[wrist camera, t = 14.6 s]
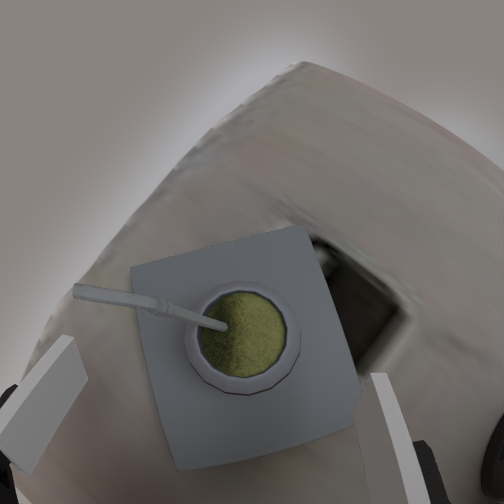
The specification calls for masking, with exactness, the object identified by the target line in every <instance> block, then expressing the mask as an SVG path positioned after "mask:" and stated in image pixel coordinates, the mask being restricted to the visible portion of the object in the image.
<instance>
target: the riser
mask: <svg viewBox="0 0 504 504" xmlns="http://www.w3.org/2000/svg"><path fill="white" fill-rule="evenodd" d="M130 272H131V280H132V287H133V293H135V294H140V295H145V296H149V297H152V296H154V295H156V296H159V297H162V298H165V299H168V300H171V301H173V302H174V303H175V305H176V306H179V307H181V308H184V309H186V310H189V311H192V309H193V308H194V306H195V304H196V303H197V301H198V299H200V298H201V297H202V296H204V295H205V294H206V293H208V292H209V291H210V290H212V289H213V288H214V287H215V286H218V285H222V284H225V283H229V282H232V281H236V280H241V281H251V282H260V283H262V284H264V285H266V286H268V287H270V288H272V289H274V290H276V291H278V292H279V293H280V294H281V295H282V296H283V297H284V298H285V299H286V301H287V302H288V303H289V304H290V305H291V306H292V307H293V309H294V311H295V314H296V316H297V319H298V322H299V325H300V328H301V345H300V355H299V357H298V359H297V361H296V363H295V365H294V366H293V368H292V370H291V372H290V374H289V375H288V376H287V377H286V378H284V379H283V380H282V381H281V382H280V383H278V384H277V385H276V386H275V387H273V388H272V389H271V390H268V391H264V392H261V393H258V394H254V395H251V396H243V395H233V394H226V393H224V392H222V391H220V390H218V389H216V388H214V387H212V386H211V385H209V384H207V383H205V382H204V381H203V380H202V378H201V377H200V376H199V375H198V373H197V372H196V371H195V370H194V368H193V367H192V366H191V364H190V362H189V358H188V354H187V350H186V346H185V343H184V336H185V329H186V321H183V320H179V319H176V318H173V317H171V318H169V319H166V318H162V317H158V316H155V315H152V314H150V313H149V311H147V310H142V309H136V313H137V318H138V324H139V330H140V335H141V340H142V345H143V350H144V355H145V359H146V364H147V368H148V372H149V377H150V381H151V385H152V389H153V393H154V397H155V401H156V404H157V408H158V412H159V415H160V419H161V422H162V425H163V429H164V432H165V435H166V438H167V442H168V445H169V448H170V451H171V454H172V457H173V460H174V463H175V465H176V468H177V471H178V472H179V471H187V470H194V469H201V468H207V467H213V466H219V465H224V464H229V463H234V462H238V461H243V460H247V459H251V458H256V457H260V456H263V455H267V454H271V453H275V452H278V451H282V450H285V449H288V448H292V447H295V446H298V445H301V444H304V443H307V442H310V441H313V440H316V439H319V438H321V437H324V436H327V435H330V434H332V433H335V432H337V431H340V430H342V429H345V428H347V427H350V426H352V425H355V422H354V418H353V411H354V409H355V407H356V405H357V403H358V400H359V398H360V396H361V394H362V389H361V386H360V382H359V379H358V376H357V373H356V369H355V366H354V363H353V360H352V357H351V354H350V350H349V347H348V344H347V341H346V338H345V335H344V332H343V329H342V326H341V323H340V320H339V317H338V314H337V312H336V309H335V306H334V303H333V300H332V297H331V294H330V292H329V289H328V286H327V283H326V281H325V278H324V275H323V272H322V270H321V267H320V264H319V262H318V259H317V256H316V254H315V251H314V249H313V246H312V243H311V241H310V238H309V236H308V233H307V230H306V228H305V225H304V224H300V225H296V226H292V227H287V228H283V229H279V230H275V231H271V232H267V233H263V234H259V235H255V236H251V237H247V238H243V239H239V240H235V241H231V242H227V243H223V244H219V245H215V246H211V247H207V248H203V249H199V250H195V251H191V252H187V253H184V254H180V255H176V256H172V257H168V258H164V259H160V260H157V261H153V262H149V263H145V264H141V265H138V266H134V267H130Z"/></svg>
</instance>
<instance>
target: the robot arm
mask: <svg viewBox="0 0 504 504" xmlns="http://www.w3.org/2000/svg"><path fill="white" fill-rule="evenodd" d="M88 380H89V379H88V377H87V374H86V371H85V368H84V366H83V363H82V360H81V357H80V354H79V351H78V348H77V344H76V341H75V338H74V337H70V336H67V335H63V334H62V335H61V336H60V337H59V339H58V340H57V341H56V342H55V343H54V344H53V345H52V346H51V348H50V349H49V350H48V351H47V352H46V353H45V354H44V356H43V357H42V358H41V359H40V360H39V361H38V363H37V364H36V365H35V366H34V367H33V369H32V370H31V371H30V372H29V373H28V375H27V376H26V377H25V378H24V379H23V381H22V382H21V383H20V384H19V386H18V385H16V384H14V385H13V386H11V387H10V388H8V389H6V391H5V392H4V393H3V394H2V396H1V397H0V504H19V503H18V499H17V495H16V490H15V486H14V481H13V476H12V471H11V468H10V466H9V464H10V463H12V464H13V465H14V466H15V467H16V468H17V469H18V470H20V471H21V472H23V473H25V474H26V475H28V476H31V474H32V473H33V471H34V469H35V467H36V465H37V464H38V462H39V460H40V458H41V456H42V455H43V453H44V451H45V449H46V448H47V446H48V444H49V442H50V441H51V439H52V437H53V436H54V434H55V432H56V431H57V429H58V427H59V426H60V424H61V422H62V421H63V419H64V417H65V416H66V414H67V413H68V411H69V409H70V408H71V406H72V405H73V403H74V401H75V400H76V398H77V397H78V395H79V393H80V392H81V390H82V389H83V387H84V386H85V384H86V383H87V381H88ZM353 418H354V422H355V427H356V431H357V436H358V441H359V446H360V451H361V456H362V461H363V466H364V471H365V476H366V482H367V487H368V493H369V499H370V504H451V503H450V502H449V500H448V497H447V494H446V491H445V488H444V484H443V481H442V478H441V475H440V472H439V470H438V466H437V464H436V462H435V458H434V455H433V452H432V450H431V448H430V447H429V446H428V445H427V444H426V442H425V441H424V440H422V441H416V442H412V441H411V438H410V435H409V432H408V429H407V426H406V423H405V421H404V418H403V415H402V412H401V410H400V407H399V404H398V402H397V399H396V396H395V394H394V391H393V388H392V386H391V383H390V381H389V378H388V376H387V373H370V375H369V377H368V380H367V382H366V385H365V387H364V389H363V391H362V394H361V396H360V398H359V400H358V403H357V405H356V407H355V409H354V411H353ZM481 483H482V489H483V492H484V494H485V495H486V496H487V497H488V498H490V499H494V500H497V501H501V502H504V416H503V418H502V419H501V421H500V423H499V424H498V426H497V428H496V430H495V432H494V434H493V436H492V439H491V441H490V444H489V446H488V449H487V452H486V455H485V459H484V463H483V468H482V476H481ZM488 504H499V503H497V502H490V503H488Z"/></svg>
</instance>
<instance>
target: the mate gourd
mask: <svg viewBox="0 0 504 504" xmlns="http://www.w3.org/2000/svg"><path fill="white" fill-rule="evenodd" d="M73 297H74V298H76V299H82V300H88V301H93V302H100V303H106V304H112V305H119V306H125V307H131V308H136V309H142V310H147V311H149V313H150V314H152V315H155V316H158V317H162V318H166V319H169V318H171V317H173V318H176V319H179V320H183V321H186V329H185V336H184V343H185V346H186V350H187V354H188V358H189V362H190V364H191V366H192V367H193V368H194V370H195V371H196V372H197V373H198V375H199V376H200V377H201V378H202V380H203V381H204V382H205V383H207V384H209V385H211V386H212V387H214V388H216V389H218V390H220V391H222V392H224V393H226V394H233V395H243V396H251V395H254V394H258V393H261V392H264V391H268V390H271V389H272V388H273V387H275V386H276V385H277V384H278V383H280V382H281V381H282V380H283V379H284V378H286V377H287V376H288V375H289V374H290V372H291V370H292V368H293V366H294V365H295V363H296V361H297V359H298V357H299V355H300V345H301V328H300V325H299V322H298V319H297V316H296V314H295V311H294V309H293V307H292V306H291V305H290V304H289V303H288V302H287V301H286V299H285V298H284V297H283V296H282V295H281V294H280V293H279V292H278V291H276V290H274V289H272V288H270V287H268V286H266V285H264V284H262V283H260V282H251V281H241V280H236V281H232V282H229V283H225V284H222V285H218V286H215V287H214V288H213V289H212V290H210V291H209V292H208V293H206V294H205V295H204V296H202V297H201V298H200V299H198V301H197V303H196V304H195V306H194V308H193V309H192V311H189V310H186V309H184V308H181V307H179V306H176V305H175V303H174V302H173V301H171V300H168V299H165V298H162V297H159V296H156V295H154V296H152V297H149V296H145V295H140V294H135V293H130V292H125V291H119V290H113V289H107V288H101V287H95V286H90V285H84V284H78V283H75V284H74V287H73Z"/></svg>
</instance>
